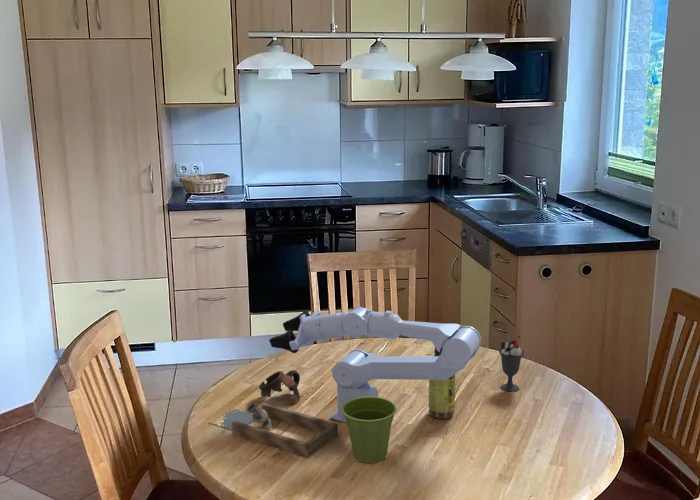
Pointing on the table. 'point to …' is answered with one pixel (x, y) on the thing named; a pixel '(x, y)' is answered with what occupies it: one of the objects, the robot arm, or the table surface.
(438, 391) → the sauce bottle
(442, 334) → the robot arm
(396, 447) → the table surface
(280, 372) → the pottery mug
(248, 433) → the walnut tray
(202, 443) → the table surface
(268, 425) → the vase
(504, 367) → the sundae
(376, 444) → the plant pot
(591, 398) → the table surface
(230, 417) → the slate coaster
